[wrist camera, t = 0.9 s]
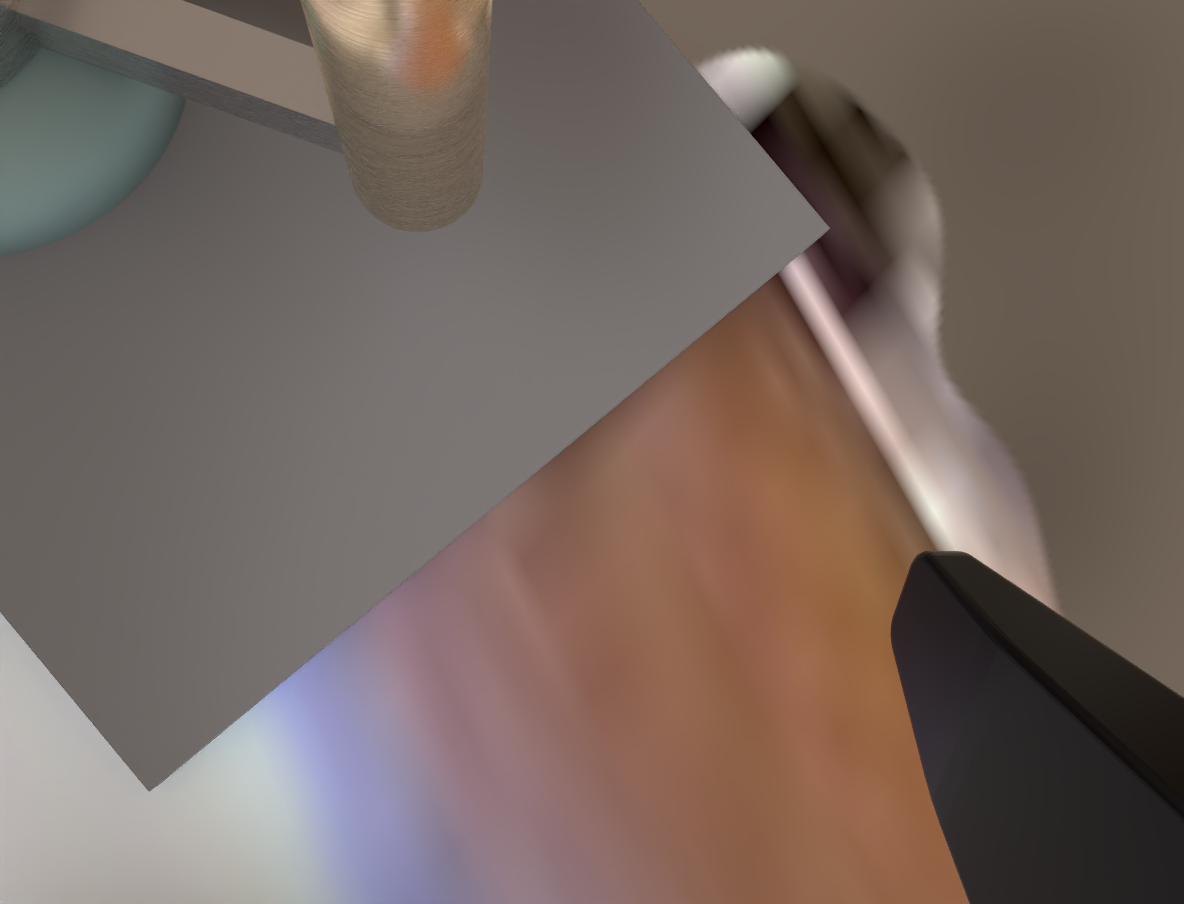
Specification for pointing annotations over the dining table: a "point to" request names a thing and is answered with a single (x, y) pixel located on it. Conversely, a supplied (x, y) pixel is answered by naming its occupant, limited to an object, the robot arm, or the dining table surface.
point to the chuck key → (307, 82)
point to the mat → (346, 362)
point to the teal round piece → (74, 146)
